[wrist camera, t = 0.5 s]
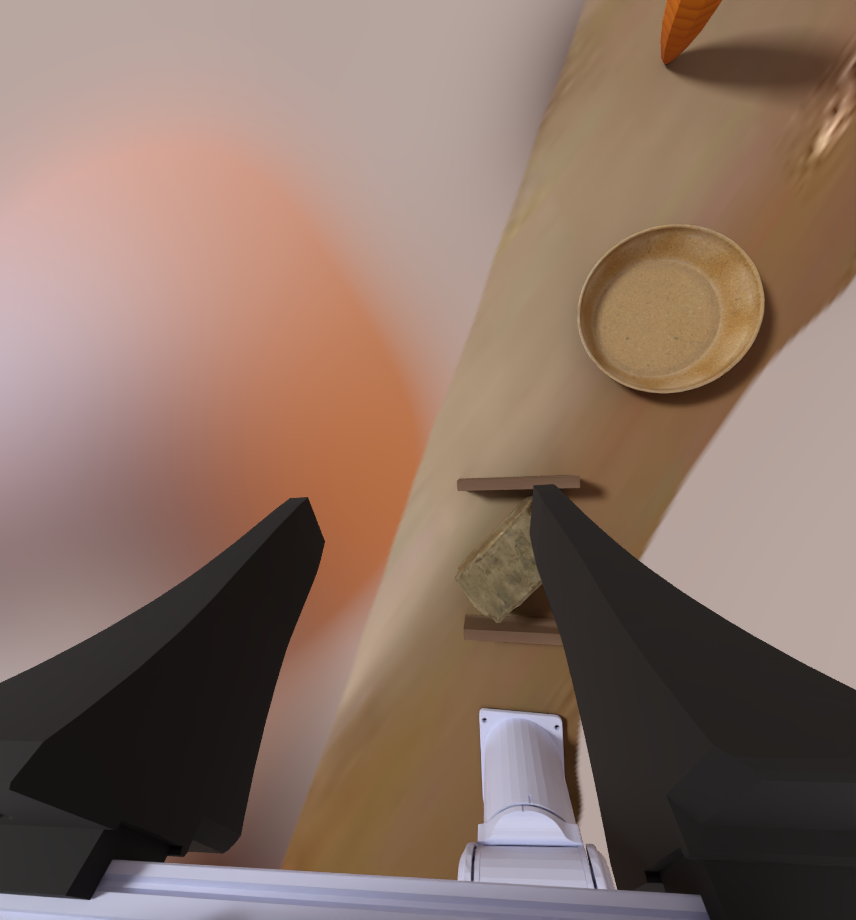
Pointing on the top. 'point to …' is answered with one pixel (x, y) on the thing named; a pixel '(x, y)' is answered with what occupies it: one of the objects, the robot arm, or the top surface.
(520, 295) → the top surface
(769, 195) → the top surface
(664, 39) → the carrot
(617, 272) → the plant saucer
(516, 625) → the chute
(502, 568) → the stone block
